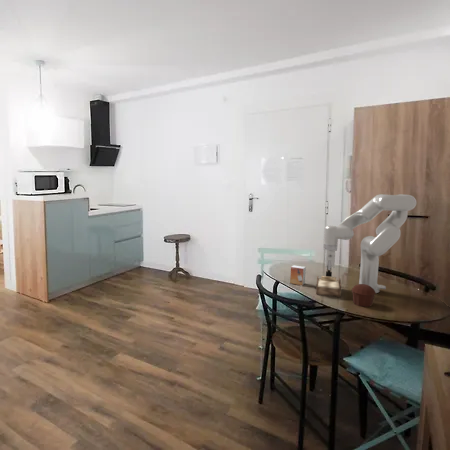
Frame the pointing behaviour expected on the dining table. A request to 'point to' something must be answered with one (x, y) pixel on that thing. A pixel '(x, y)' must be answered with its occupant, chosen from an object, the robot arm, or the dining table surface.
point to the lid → (328, 282)
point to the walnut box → (328, 290)
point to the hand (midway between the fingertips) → (328, 278)
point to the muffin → (363, 295)
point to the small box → (297, 275)
